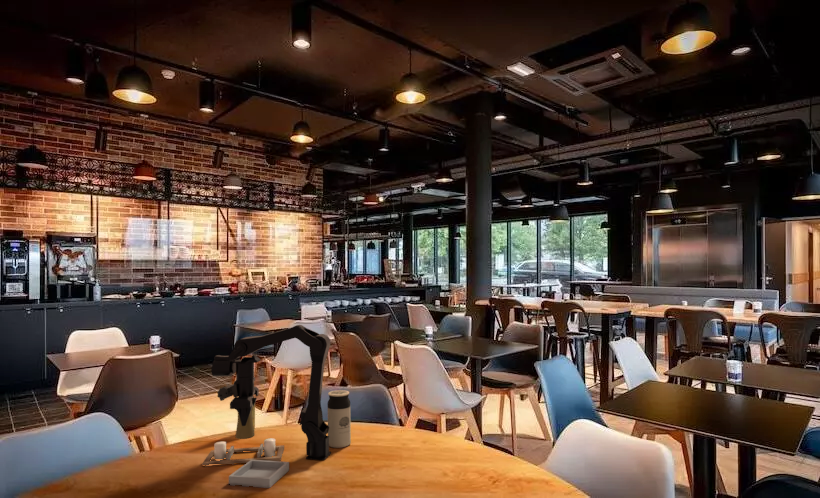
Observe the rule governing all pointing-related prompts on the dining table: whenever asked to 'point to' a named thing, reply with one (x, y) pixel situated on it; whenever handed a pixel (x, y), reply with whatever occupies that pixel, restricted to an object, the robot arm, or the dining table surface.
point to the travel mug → (339, 419)
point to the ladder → (232, 450)
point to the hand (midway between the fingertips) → (245, 423)
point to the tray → (259, 473)
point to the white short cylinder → (220, 450)
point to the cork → (245, 428)
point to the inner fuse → (269, 447)
